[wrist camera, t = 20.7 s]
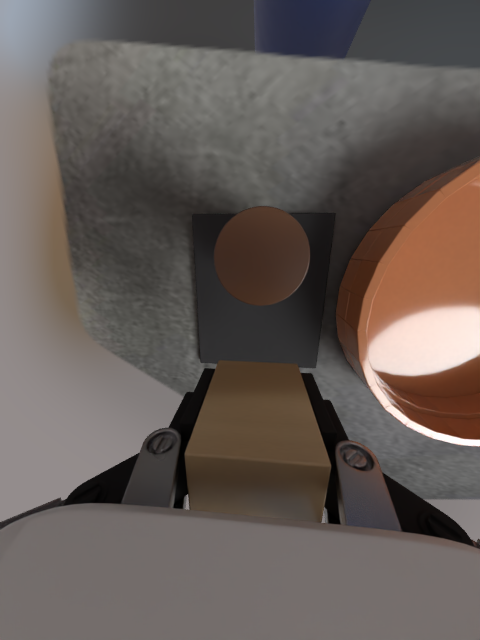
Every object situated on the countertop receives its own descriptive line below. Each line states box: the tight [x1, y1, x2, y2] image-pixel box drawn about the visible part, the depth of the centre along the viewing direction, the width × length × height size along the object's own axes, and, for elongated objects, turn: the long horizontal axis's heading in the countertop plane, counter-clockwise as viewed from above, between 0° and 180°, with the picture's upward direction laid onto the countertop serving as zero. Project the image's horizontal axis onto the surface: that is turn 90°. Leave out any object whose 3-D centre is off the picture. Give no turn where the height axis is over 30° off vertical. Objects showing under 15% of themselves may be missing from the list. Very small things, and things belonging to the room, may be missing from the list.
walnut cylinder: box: [214, 206, 310, 306], centre depth 13 cm, size 4×4×8 cm
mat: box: [192, 213, 335, 368], centre depth 17 cm, size 12×10×1 cm
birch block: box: [185, 360, 331, 523], centre depth 9 cm, size 4×4×6 cm
